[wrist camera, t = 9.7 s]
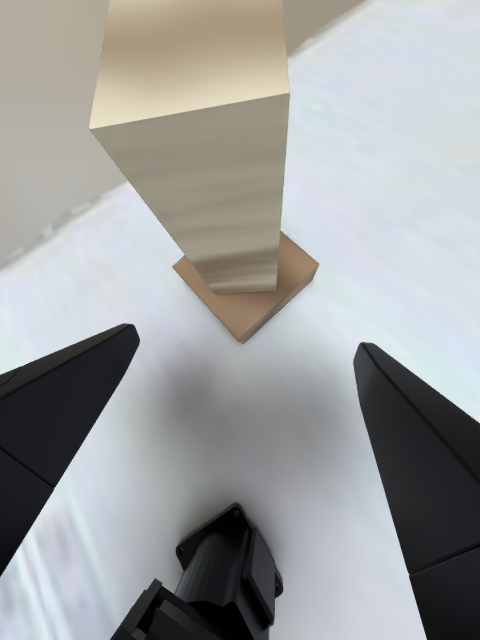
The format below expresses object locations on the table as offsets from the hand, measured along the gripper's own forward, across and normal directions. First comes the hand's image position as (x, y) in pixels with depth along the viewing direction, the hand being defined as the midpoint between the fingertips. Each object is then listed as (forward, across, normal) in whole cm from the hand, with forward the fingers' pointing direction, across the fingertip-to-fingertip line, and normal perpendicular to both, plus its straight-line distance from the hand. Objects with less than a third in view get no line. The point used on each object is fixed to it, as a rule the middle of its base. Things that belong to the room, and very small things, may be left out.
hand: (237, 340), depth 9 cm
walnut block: (+14, +2, +4) cm, 15 cm away
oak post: (+11, +2, +1) cm, 11 cm away
